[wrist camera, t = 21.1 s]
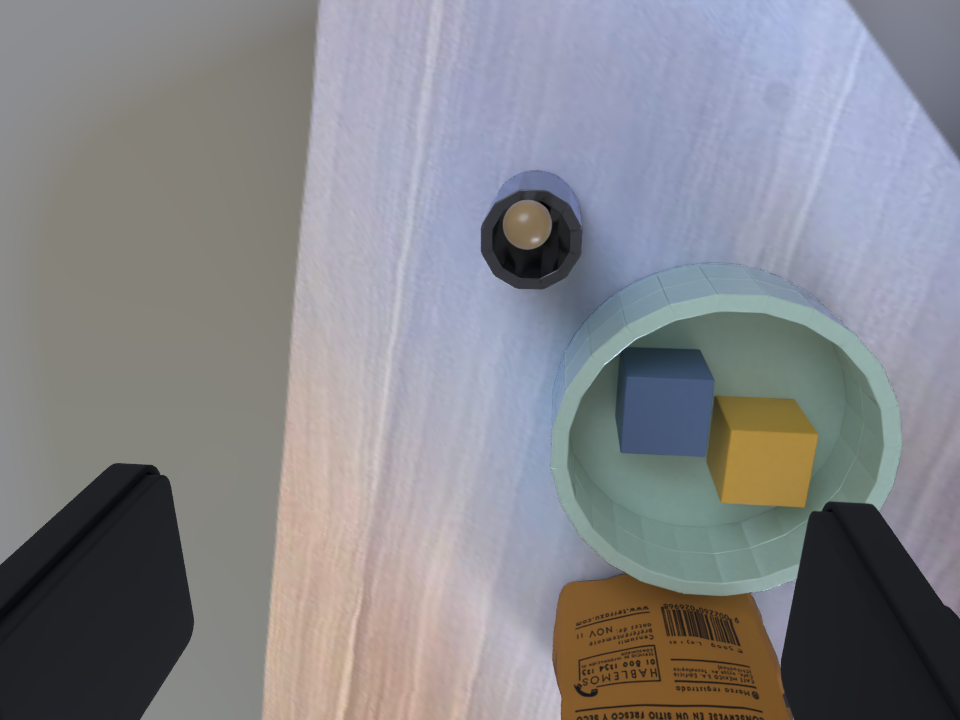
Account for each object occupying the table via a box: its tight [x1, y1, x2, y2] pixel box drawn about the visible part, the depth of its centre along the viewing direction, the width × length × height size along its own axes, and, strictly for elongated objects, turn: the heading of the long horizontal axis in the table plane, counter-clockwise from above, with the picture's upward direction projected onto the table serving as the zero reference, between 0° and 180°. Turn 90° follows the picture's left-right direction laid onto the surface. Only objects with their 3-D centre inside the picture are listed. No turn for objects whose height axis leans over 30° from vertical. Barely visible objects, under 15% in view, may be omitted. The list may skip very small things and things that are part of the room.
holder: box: [481, 170, 582, 289], centre depth 34 cm, size 4×4×6 cm
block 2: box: [706, 396, 819, 508], centre depth 38 cm, size 4×4×4 cm
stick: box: [503, 200, 552, 249], centre depth 29 cm, size 1×1×16 cm
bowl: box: [551, 263, 902, 596], centre depth 37 cm, size 16×16×6 cm
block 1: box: [615, 347, 715, 457], centre depth 37 cm, size 4×4×4 cm
